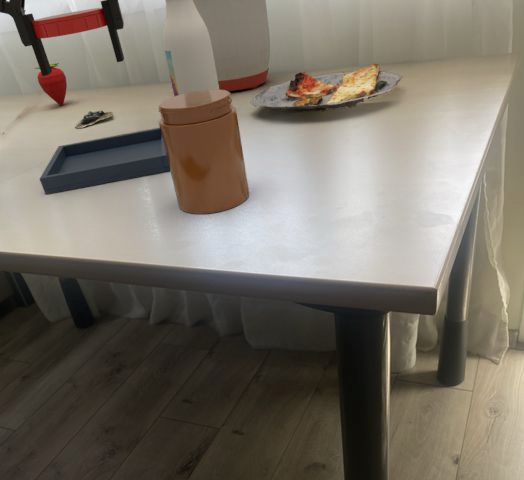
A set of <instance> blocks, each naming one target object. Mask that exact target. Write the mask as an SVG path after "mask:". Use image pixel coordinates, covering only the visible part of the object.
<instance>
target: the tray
mask: <svg viewBox="0 0 524 480" xmlns="http://www.w3.org/2000/svg"><path fill="white" fill-rule="evenodd" d="M167 172H170V167H169V163H168V159H167V155H166V151H165V147H164V143H163V139H162V134H161V130H160V127H154V128H150V129H145V130H139V131H133V132H129V133H123V134H117V135H111V136H107V137H101V138H95V139H90V140H86V141H79V142H74V143H68V144H64V145H63V144H62V145H59V146H58V147H57V149H56V150H55V152H54V153H53V154H52V157H51V158H50V160H49V161H48V164H47V165H46V166H45V169H44V171H43V172H42V174H41V176H40V177H39V181H40V185H41V186H42V189H43V192H44V194H45V195H50V194H57V193H61V192H66V191H71V190H76V189H82V188H88V187H94V186H97V185H98V186H99V185H103V184H109V183H115V182H119V181H120V182H121V181H124V180H129V179H130V180H131V179H135V178H141V177H146V176H151V175H156V174H162V173H167Z"/></svg>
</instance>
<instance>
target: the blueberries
mask: <svg viewBox="0 0 524 480" xmlns="http://www.w3.org/2000/svg"><path fill="white" fill-rule="evenodd" d="M113 117H114V112H113V111H107V112H106V111H104V110H96V111H95V110H94V111H91V110H90V111H88V112H87V114H84V115H83V117H82V119H80V120H79V121H78V122H77V123H76V125H75V126H74V127H75V128H76V129H82V128H85V127H87V126H91V125H94V124H96V123H97V122H98V121H102V120H105V119H107V120H108V119H111V118H113Z"/></svg>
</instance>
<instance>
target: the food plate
mask: <svg viewBox="0 0 524 480" xmlns="http://www.w3.org/2000/svg"><path fill="white" fill-rule="evenodd" d="M294 77H295V78H294V79H291V80H289V81H286V82H285V81H284V82H281V83H280V84H277V85H273V86H269V87H267V88H265V89H264V90H261V91H260V92H259V93H257V94H256V95H255V96H253V97H252V98H251V99H250V104H251V106H253V107H255V108H258V107H259V108H261V107H267V108H268V109H269V110H277V109H278V110H281V111H283V112H290V113H311V112H325V111H327V110H337V109H342V108H343V109H346V108H350V109H352V108H353V107H356V106H357V105H358V104H359V103H364V101H365V99H366V98H367V100H370V99H371V98H372V99H373V98H376V97H378V96H379V95H380V94H384V93H387V92H389V91H390V92H391V91H392V90H393V89H394V88H395V87H396V86H397V85H398V84H399V83H400V81H401V79H403V77H404V76H402V74H399V73H397V72H391V71H386V70H381V67H380V65H379V64H378V63H373V64H370V65H368V66H365V67H362V68H360V69H357V70H351V71H337V72H326V73H322V74H316V75H310V74H308V73H306V71H303V72H298V73H295V75H294Z"/></svg>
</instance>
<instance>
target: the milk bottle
mask: <svg viewBox="0 0 524 480" xmlns="http://www.w3.org/2000/svg"><path fill="white" fill-rule="evenodd" d="M162 33H163V35H162V36H163V47H164V53H165V59H166V63H167V68H168V69H167V70H168V73H169V79H170V83H171V87H172V91H173V92H172V93H173V97H174V96H177V95H181V94H185V93H190V92H196V91H203V90H219V84H218V78H217V73H216V67H215V61H214V56H213V50H212V45H211V40H210V36H209V33H208V30H207V27H206V25H205V23H204V21H203V19H202V18H201V16H200V14H199V13H198V11H197V9H196V7H195V4H194V2H193V0H165V19H164V26H163V32H162Z"/></svg>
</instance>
